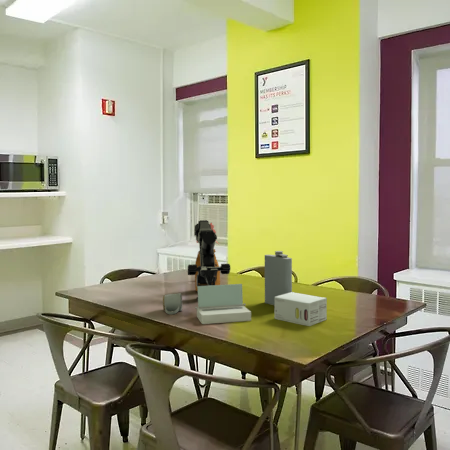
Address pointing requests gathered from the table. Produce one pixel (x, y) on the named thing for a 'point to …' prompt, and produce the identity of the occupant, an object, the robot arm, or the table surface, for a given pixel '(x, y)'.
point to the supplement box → (300, 308)
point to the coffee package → (217, 280)
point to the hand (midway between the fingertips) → (210, 287)
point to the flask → (277, 276)
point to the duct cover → (220, 296)
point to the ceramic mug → (172, 303)
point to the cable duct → (223, 314)
